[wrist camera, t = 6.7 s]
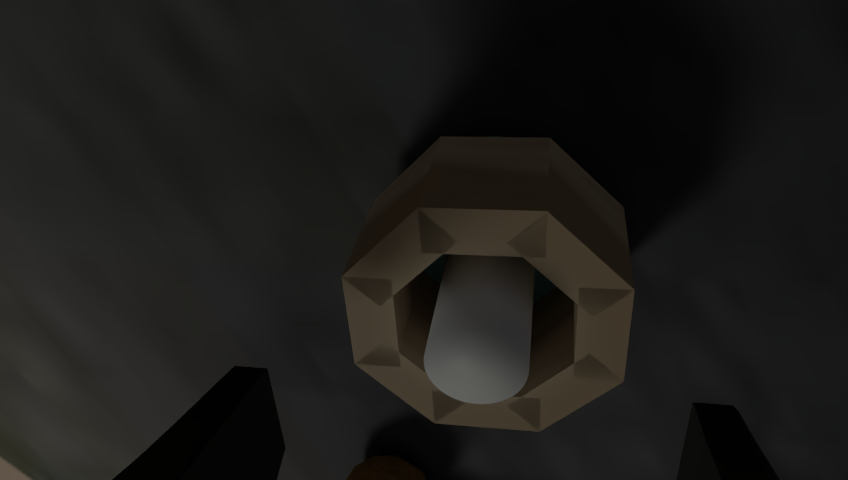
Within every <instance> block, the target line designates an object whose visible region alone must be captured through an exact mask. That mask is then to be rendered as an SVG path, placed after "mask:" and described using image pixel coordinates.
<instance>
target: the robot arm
mask: <svg viewBox="0 0 848 480" xmlns="http://www.w3.org/2000/svg"><path fill="white" fill-rule="evenodd" d="M284 451H285V444H284V439H283V435H282V431H281V426H280V422H279V418H278V413H277V409H276V405H275V400H274V396H273V391H272V387H271V383H270V378H269V374H268V370H267V369H266V368H253V367H241V366H234V367H233V368H232V369H231V370H230V371H229V372H228V373H227V374H226V375H225V376H224V377H223V378H222V379H220V380H219V381H218V382H217V383H216V384H215V385H214V386H213V387H212V388H211V389H210V390H209V391H208V392H207V393H206V394H205V395H204V396H203V397H202V398H201V399H200V400H199V401H198V402H197V403H196V404H195V405H194V406H193V407H192V408H190V409H189V410H188V411H187V412H186V413H185V414H184V415H183V416H182V417H181V418H180V419H179V420H178V421H177V422H176V423H175V424H174V425H173V426H172V427H171V428H169V429H168V430H167V431H166V432H165V433H164V434H163V435H162V436H161V437H160V438H159V439H158V440H157V441H155V442H154V443H153V444H152V445H151V446H150V447H149V448H148V449H147V450H146V451H145V452H144V453H142V454H141V455H140V456H139V457H138V458H137V459H136V460H135V461H134V462H132V463H131V464H130V465H129V466H128V467H127V468H125V469H124V470H123V471H122V472H121V473H120V474H118V475H117V476H116V477H115V478H114V479H113V480H277V476H278V473H279V469H280V465H281V462H282V458H283V454H284ZM677 480H780V479H779V478H778V476H777V475H776V473H775V471H774V470H773V468H772V467H771V465H770V464H769V462H768V460H767V459H766V457H765V456H764V454H763V452H762V451H761V449H760V447H759V446H758V444H757V442H756V441H755V439H754V437H753V436H752V434H751V432H750V431H749V429H748V427H747V425H746V424H745V422H744V420H743V418H742V417H741V415H740V413H739V411H738V410H737V409H736V408H735V407H734V406H731V405H719V404H706V403H693V404H692V409H691V414H690V418H689V423H688V428H687V433H686V437H685V442H684V447H683V452H682V456H681V461H680V466H679V471H678V476H677Z"/></svg>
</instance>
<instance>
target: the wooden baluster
mask: <svg viewBox="0 0 848 480" xmlns="http://www.w3.org/2000/svg"><path fill="white" fill-rule="evenodd" d="M346 480H426V478H425V475H424V474H423V473H422V471H421V470H419V469H418V468H416V467H415V466H413V465H412V464H410V463H409V462H407V461H406V460H404V459H403V458H401V457H400V456H397V455H385V456H373V457H371V458H369V459H368V460H366V461H364V462H362V463H361V464H359V465H357V466H355V467H354V469H353V470H352V472H351V473H350V475H349V476H348V478H347V479H346Z"/></svg>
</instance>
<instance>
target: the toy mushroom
mask: <svg viewBox="0 0 848 480" xmlns="http://www.w3.org/2000/svg"><path fill="white" fill-rule="evenodd" d="M488 137H500V136H488ZM423 271H425V272H426V273H427V274H428V275H430V276H431V277H432V278H433V279H434V280H436V281H437V282H438V283H439V284H441V285H440V289H439V293H438V298H437V302H436V306H435V310H434V315H433V319H432V323H431V328H430V332H429V336H428V340H427V345H426V349H425V353H424V368H425V371H426V373H427V375H428V377H429V379H430V380H431V382H432V383H433V384H434V385H435V386H436V387H437V388H438V389H439V390H440V391H442V392H443V393H445V394H446V395H448V396H450V397H452V398H454V399H457V400H460V401H463V402H467V403H473V404H491V403H497V402H500V401H503V400H506V399H508V398H510V397H512V396H514V395H515V394H516V393H518V392H519V391H520V390H521V389H522V387H523V386H524V385H525V383H526V381H527V378H528V375H529V364H530V347H531V329H532V312H533V304H534V303H535V302H537V301H538V300H540V299H541V298H542V297H544V296H545V295H547V294H548V293H549V292H551V291H552V290H554V289H555V288H556V287H557V286H556V285H555V284H553V283H552V282H551V281H550V280H549V279H548V278H546V277H545V276H544V275H543V274H542V273H541V272H540V271H538V270H537V269H536V268H535V267H534V266H533V265H531V264H530V263H529V262H528V261H527V260H526V259H525V258H523V257H509V256H483V255H457V254H442V255H441V256H440V257H439V258H438V259H436V260H435V261H434V262H433V263H432V264H430V265H429V266H428V267H427V268H426V269H424V270H423Z"/></svg>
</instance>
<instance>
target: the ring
mask: <svg viewBox="0 0 848 480" xmlns="http://www.w3.org/2000/svg"><path fill="white" fill-rule="evenodd" d="M442 254H457V255H483V256H509V257H523V258H525V259H526V260H527V261H528V262H529V263H530V264H531V265H533V266H534V267H535V268H536V269H537V270H538V271H540V272H541V273H542V274H543V275H544V276H545V277H546V278H548V279H549V280H550V281H551V282H552V283H553V284H555V285H556V286H557V287H556V288H555V289H554V290H552V291H551V292H549V293H548V294H547V295H545V296H544V297H542V298H541V299H540V300H538V301H537V302H535V303H534V304H533V312H532V329H531V347H530V364H529V375H528V378H527V381H526V383H525V385H524V386H523V387H522V389H521V390H520V391H519V392H518V393H516V394H515V395H514V396H512V397H510V398H508V399H506V400H503V401H500V402H497V403H491V404H473V403H467V402H463V401H460V400H457V399H454V398H452V397H450V396H448V395H446V394H445V393H443V392H442V391H440V390H439V389H438V388H437V387H436V386H435V385H434V384H433V383H432V382H431V380H430V379H429V377H428V375H427V373H426V371H425V368H424V353H425V349H426V345H427V340H428V336H429V332H430V328H431V323H432V319H433V315H434V310H435V306H436V302H437V298H438V293H439V289H440V285H441V284H439V283H438V282H437V281H436V280H434V279H433V278H432V277H431V276H430V275H428V274H427V273H426V272H425V271H423V270H424V269H426V268H427V267H428V266H429V265H430V264H432V263H433V262H434V261H435V260H436V259H438V258H439V257H440V256H441V255H442ZM342 283H343V290H344V296H345V303H346V309H347V316H348V322H349V329H350V335H351V342H352V349H353V355H354V362H355V365H357V366H358V367H359V368H361V369H362V370H363V371H365V372H366V373H368V374H369V375H370V376H372V377H373V378H374V379H376V380H377V381H378V382H380V383H381V384H382V385H384V386H385V387H386V388H388V389H389V390H390V391H392V392H393V393H394V394H396V395H397V396H398V397H400V398H401V399H402V400H404V401H405V402H406V403H408V404H409V405H410V406H412V407H413V408H415V409H416V410H417V411H419V412H420V413H421V414H423V415H424V416H425V417H427V418H428V419H429V420H431V421H432V422H433V423H436V424H449V425H462V426H474V427H487V428H500V429H513V430H526V431H539V432H540V431H541V430H543V429H545V428H546V427H548V426H550V425H551V424H553V423H555V422H557V421H558V420H560V419H562V418H563V417H565V416H567V415H568V414H570V413H572V412H573V411H575V410H577V409H578V408H580V407H582V406H583V405H585V404H587V403H589V402H590V401H592V400H594V399H595V398H597V397H599V396H600V395H602V394H604V393H605V392H607V391H609V390H610V389H612V388H614V387H616V386H617V385H619V384H621V383H622V382H624V375H625V366H626V358H627V350H628V341H629V333H630V324H631V316H632V308H633V299H634V291H635V289H634V282H633V274H632V266H631V259H630V251H629V243H628V236H627V228H626V220H625V213H624V207H623V206H622V205H621V204H620V203H619V202H618V201H617V200H616V199H615V198H614V197H612V196H611V195H610V194H609V193H608V192H607V191H606V190H605V189H604V188H603V187H602V186H601V185H600V184H599V183H598V182H597V181H595V180H594V179H593V178H592V177H591V176H590V175H589V174H588V173H587V172H586V171H585V170H584V169H583V168H582V167H581V166H580V165H578V164H577V163H576V162H575V161H574V160H573V159H572V158H571V157H570V156H569V155H568V154H567V153H566V152H565V151H564V150H563V149H561V148H560V147H559V146H558V145H557V144H556V143H555V142H554V141H553V140H552V139H551V138H534V137H449V136H441V137H440V138H439V139H438V140H437V141H435V142H434V143H433V144H432V145H431V146H430V147H429V148H428V149H427V150H426V151H425V152H424V153H423V154H422V155H421V156H420V157H419V158H418V159H417V160H416V161H415V162H414V163H413V164H412V165H410V166H409V167H408V168H407V169H406V170H405V171H404V172H403V173H402V174H401V175H400V176H399V177H398V178H397V179H396V180H395V181H394V182H393V183H392V184H391V185H390V186H389V187H388V188H387V189H385V190H384V191H383V192H382V193H381V194H380V195H379V196H378V197H377V198H376V199H375V200H374V202H373V204H372V206H371V209H370V211H369V213H368V216H367V218H366V221H365V223H364V225H363V228H362V230H361V232H360V235H359V237H358V239H357V242H356V244H355V246H354V249H353V251H352V253H351V256H350V258H349V260H348V263H347V265H346V267H345V270H344V272H343V274H342Z"/></svg>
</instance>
